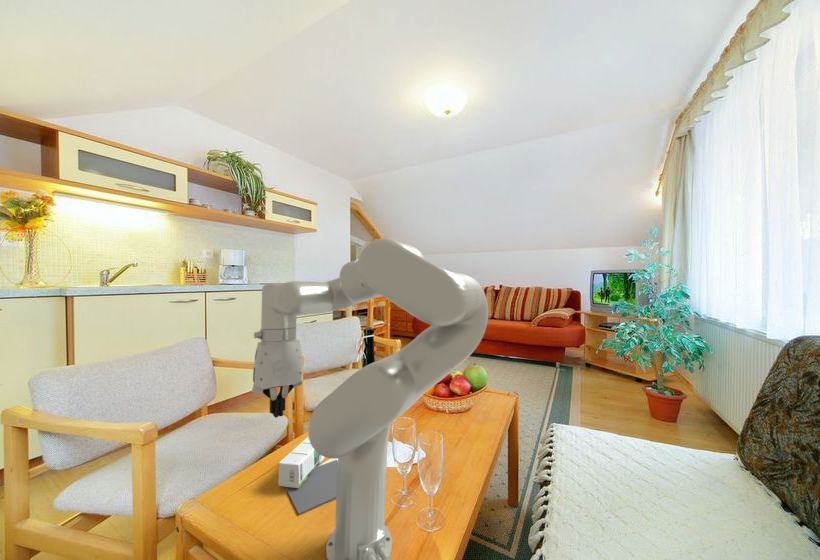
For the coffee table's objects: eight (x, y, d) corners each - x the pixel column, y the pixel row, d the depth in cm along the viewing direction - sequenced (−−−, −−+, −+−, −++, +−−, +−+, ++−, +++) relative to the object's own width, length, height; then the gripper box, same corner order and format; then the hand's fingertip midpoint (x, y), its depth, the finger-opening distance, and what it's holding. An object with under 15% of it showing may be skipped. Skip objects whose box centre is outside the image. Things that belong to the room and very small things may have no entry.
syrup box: (298, 464, 72) (326, 437, 86) (277, 462, 73) (308, 436, 87) (298, 488, 72) (326, 457, 86) (276, 486, 73) (307, 456, 87)
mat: (359, 488, 74) (359, 486, 74) (298, 515, 65) (298, 513, 65) (336, 461, 85) (336, 459, 85) (281, 481, 76) (281, 479, 76)
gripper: (245, 340, 61) (243, 430, 60) (316, 334, 70) (315, 412, 69) (239, 336, 67) (238, 418, 66) (305, 331, 76) (304, 402, 75)
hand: (277, 414), depth 68 cm, fingers closed
